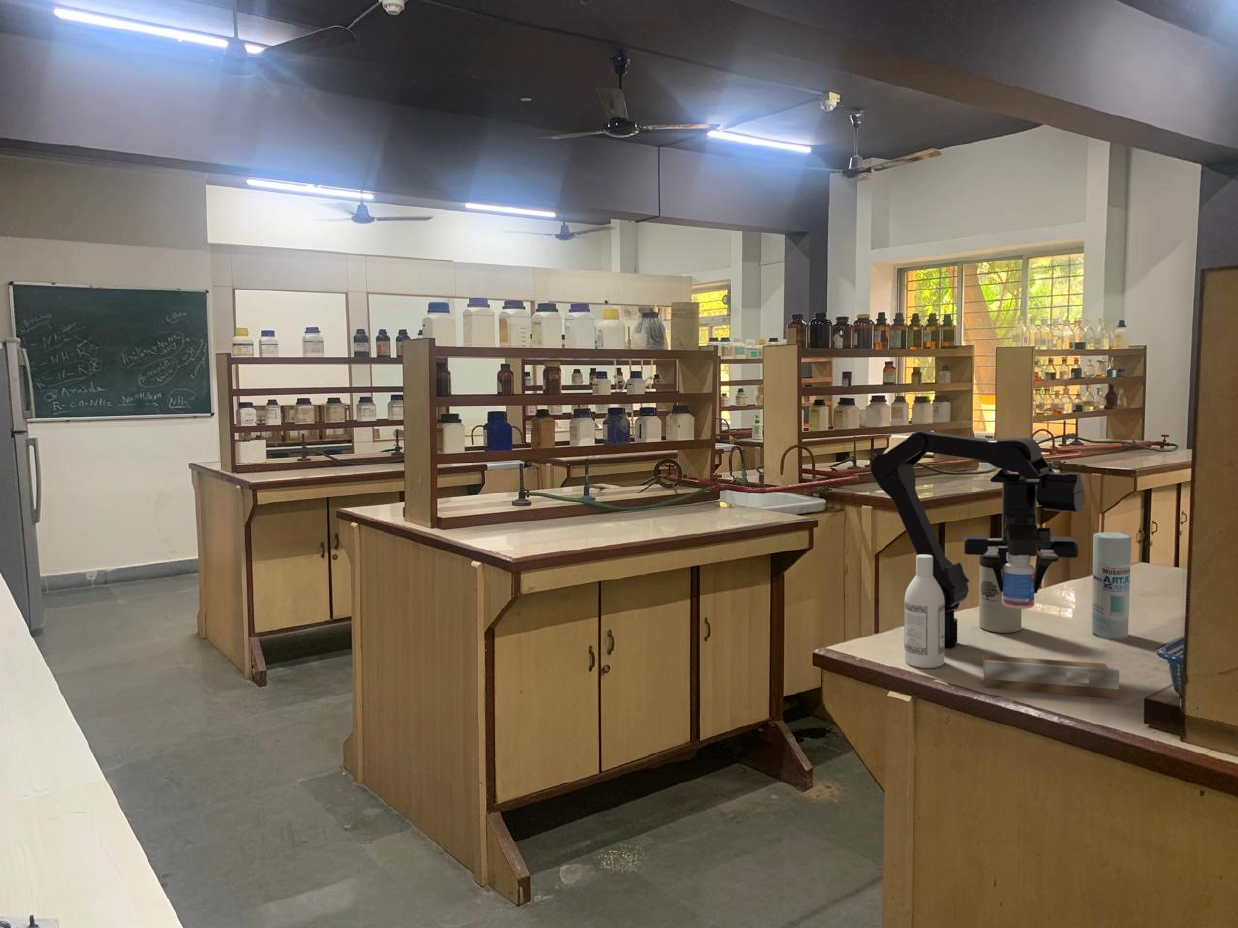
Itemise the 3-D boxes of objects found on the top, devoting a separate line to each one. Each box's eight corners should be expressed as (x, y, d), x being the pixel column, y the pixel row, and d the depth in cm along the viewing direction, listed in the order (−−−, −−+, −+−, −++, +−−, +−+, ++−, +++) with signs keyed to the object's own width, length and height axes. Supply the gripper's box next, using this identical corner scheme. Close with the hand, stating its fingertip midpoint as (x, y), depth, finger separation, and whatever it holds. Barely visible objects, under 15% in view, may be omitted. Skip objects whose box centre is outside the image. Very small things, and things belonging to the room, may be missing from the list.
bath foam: (934, 655, 170) (934, 550, 168) (951, 667, 163) (951, 558, 161) (898, 658, 169) (898, 553, 167) (914, 670, 162) (914, 560, 160)
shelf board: (985, 687, 152) (985, 661, 152) (982, 662, 165) (982, 638, 164) (1119, 698, 145) (1119, 671, 145) (1105, 671, 158) (1106, 646, 157)
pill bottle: (1037, 609, 162) (1038, 556, 161) (1006, 609, 163) (1006, 556, 162) (1029, 601, 168) (1030, 550, 167) (998, 601, 169) (999, 550, 168)
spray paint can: (1117, 629, 182) (1120, 531, 179) (1135, 639, 175) (1138, 537, 173) (1084, 630, 182) (1087, 532, 180) (1101, 640, 175) (1104, 538, 173)
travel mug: (1003, 621, 190) (1004, 536, 188) (1030, 631, 182) (1031, 543, 181) (970, 625, 188) (971, 539, 186) (996, 635, 180) (997, 546, 179)
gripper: (966, 514, 159) (966, 600, 161) (1084, 516, 153) (1082, 606, 155) (963, 504, 169) (962, 585, 171) (1073, 505, 164) (1071, 590, 165)
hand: (1018, 592), depth 165 cm, fingers closed on pill bottle, 5 cm apart
